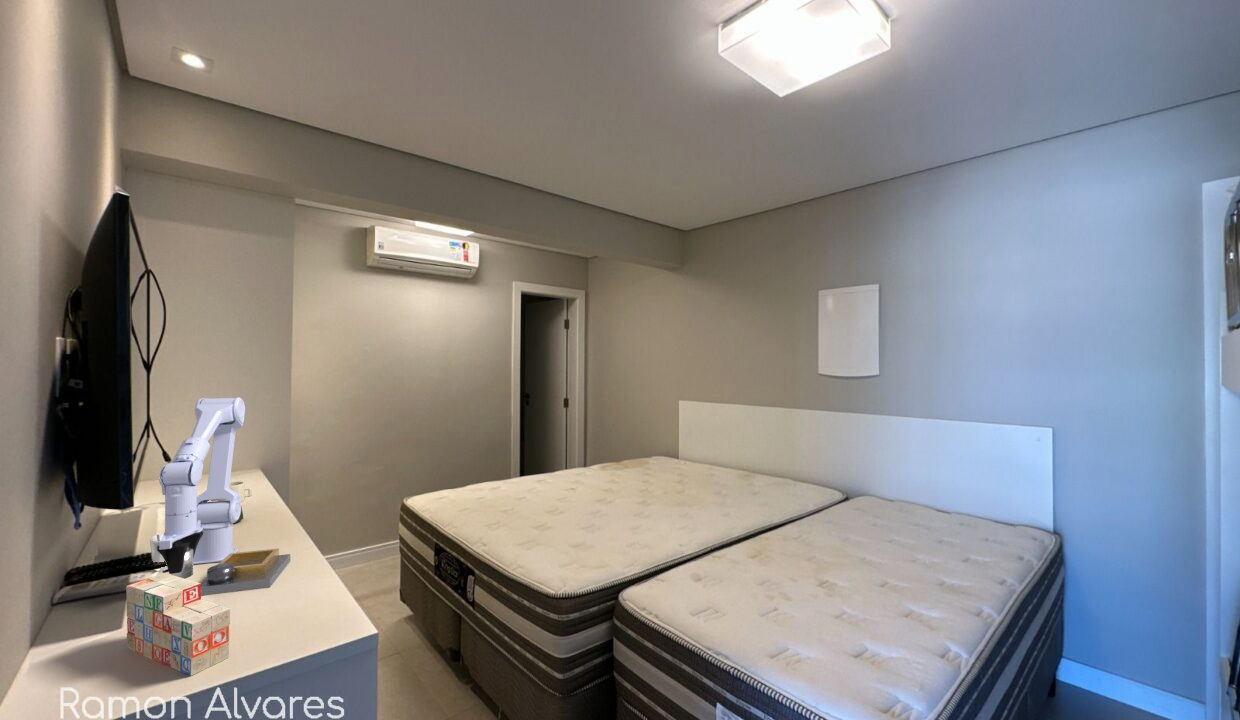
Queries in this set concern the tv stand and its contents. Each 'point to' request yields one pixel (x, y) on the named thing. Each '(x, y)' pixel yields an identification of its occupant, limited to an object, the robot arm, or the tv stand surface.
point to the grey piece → (245, 571)
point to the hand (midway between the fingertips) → (181, 568)
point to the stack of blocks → (176, 624)
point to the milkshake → (155, 554)
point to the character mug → (240, 489)
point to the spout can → (186, 565)
